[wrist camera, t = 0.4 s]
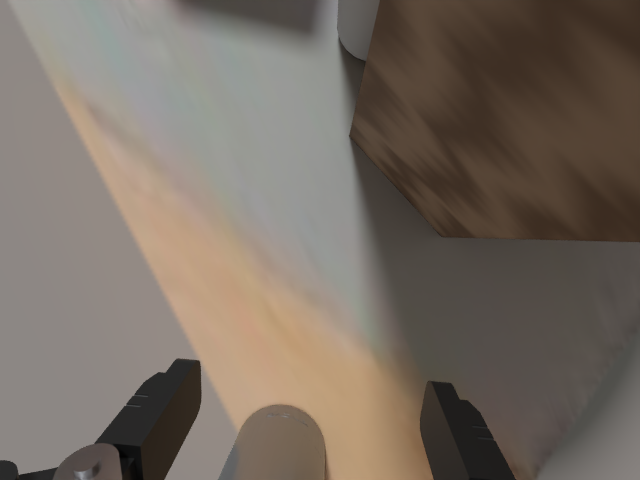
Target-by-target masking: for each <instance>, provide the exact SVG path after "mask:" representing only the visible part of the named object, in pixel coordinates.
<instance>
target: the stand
mask: <svg viewBox="0 0 640 480" xmlns="http://www.w3.org/2000/svg"><path fill="white" fill-rule="evenodd" d="M349 136H350V137H351V138H352V139H353V140H354V142H355V143H356V144H357V145H358V146H359V147H360V148H361V149H362V150H363V151H364V152H365V154H366V155H367V156H368V157H369V158H370V159H371V160H372V161H373V162H374V163H375V164H376V166H377V167H378V168H379V169H380V170H381V171H382V172H383V173H384V174H385V175H386V176H387V178H388V179H389V180H390V181H391V182H392V183H393V184H394V185H395V186H396V187H397V188H398V190H399V191H400V192H401V193H402V194H403V195H404V196H405V197H406V198H407V199H408V200H409V202H410V203H411V204H412V205H413V206H414V207H415V208H416V209H417V210H418V211H419V212H420V214H421V215H422V216H423V217H424V218H425V219H426V220H427V221H428V222H429V223H430V224H431V226H432V227H433V228H434V229H435V230H436V231H437V232H438V233H439V234H440V235H441V236H442V237H460V238H500V239H540V240H580V241H620V242H640V0H380V2H379V6H378V11H377V15H376V20H375V24H374V28H373V33H372V37H371V42H370V46H369V51H368V55H367V59H366V64H365V68H364V73H363V77H362V82H361V86H360V90H359V95H358V99H357V104H356V108H355V113H354V117H353V121H352V126H351V130H350V135H349Z"/></svg>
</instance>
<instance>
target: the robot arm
mask: <svg viewBox="0 0 640 480" xmlns="http://www.w3.org/2000/svg"><path fill="white" fill-rule="evenodd" d="M200 404H201V366H200V361H199V360H189V359H176V360H175V361H174V362H173V364H172V365H171V366H170V368H169V369H168V370H167V372H166V373H161V372H158V373H157V374H155V375H154V376H152V377H151V378H149V379H148V380H146V381H145V382H144V383H143V384H142V385H141V387H140V388H139V389H138V390H137V391H136V393H135V395H134V396H132V398H131V399H130V400H129V401H128V403H127V405H126V406H124V408H123V409H122V410H121V411H120V412H119V414H118V415H117V416H116V417H115V419H114V420H113V421H112V422H111V424H110V425H109V426H108V427H107V428H106V430H105V431H104V432H103V433H102V435H101V436H100V437H99V438H98V440H97V441H96V442H95V443H94V444H93V445H89V446H86V447H84V448H81V449H79V450H78V451H76V452H74V453H73V454H71V455H70V456H69V457H67V458H66V459H65V460H64V461H63V462H62V463H61V464H60V465H59V467H57V468H53V469H48V470H43V471H38V472H32V473H27V474H21V475H19V474H18V470H17V466H16V465H15V464H14V463H13V462H10V461H5V460H3V461H2V460H1V461H0V480H164V479H165V477H166V475H167V473H168V471H169V469H170V468H171V466H172V464H173V462H174V460H175V458H176V456H177V454H178V452H179V450H180V448H181V446H182V444H183V442H184V440H185V438H186V436H187V434H188V433H189V431H190V429H191V427H192V424H193V423H194V421H195V419H196V417H197V414H198V412H199V409H200ZM420 431H421V437H422V440H423V444H424V447H425V451H426V454H427V458H428V461H429V465H430V468H431V471H432V475H433V478H434V480H516V479H515V477H514V475H513V473H512V471H511V470H510V468H509V466H508V464H507V462H506V460H505V458H504V456H503V455H502V453H501V451H500V449H499V447H498V445H497V443H496V442H495V441H494V439H493V436H492V434H491V432H490V430H489V429H488V428H487V425H486V423H485V421H484V419H483V417H482V415H481V413H480V412H479V411H478V410H477V409H476V408H475V407H474V406H473V405H472V404H471V403H470V402H469V401H468V400H460V399H459V397H458V395H457V393H456V391H455V389H454V387H453V385H452V384H451V383H446V382H435V381H428V382H427V385H426V390H425V395H424V400H423V406H422V411H421V417H420ZM218 480H325V444H324V439H323V435H322V433H321V430H320V428H319V427H318V425H317V424H316V422H315V421H314V420H313V419H312V418H311V417H310V416H309V415H308V414H307V413H305V412H303V411H302V410H300V409H298V408H295V407H292V406H287V405H272V406H268V407H265V408H262V409H260V410H259V411H257V412H255V413H254V414H253V415H251V416H250V417H249V418H248V419H247V420H246V422H245V423H244V425H243V426H242V428H241V430H240V432H239V434H238V437H237V439H236V441H235V443H234V445H233V448H232V450H231V452H230V454H229V456H228V458H227V461H226V463H225V465H224V468H223V470H222V472H221V474H220V476H219V479H218Z"/></svg>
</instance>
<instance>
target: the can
mask: <svg viewBox="0 0 640 480" xmlns="http://www.w3.org/2000/svg"><path fill="white" fill-rule="evenodd" d="M379 2H380V0H338V18H337V30H338V34H339V38H340V40H341V42H342V44H343V45H344V47H345V48H346V50H347V51H349V52H350V53H351V54H352V55H353V56H355V57H356V58H359V59H361V60H364V61H366V59H367V55H368V51H369V46H370V42H371V37H372V33H373V28H374V24H375V20H376V15H377V11H378V6H379Z"/></svg>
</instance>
